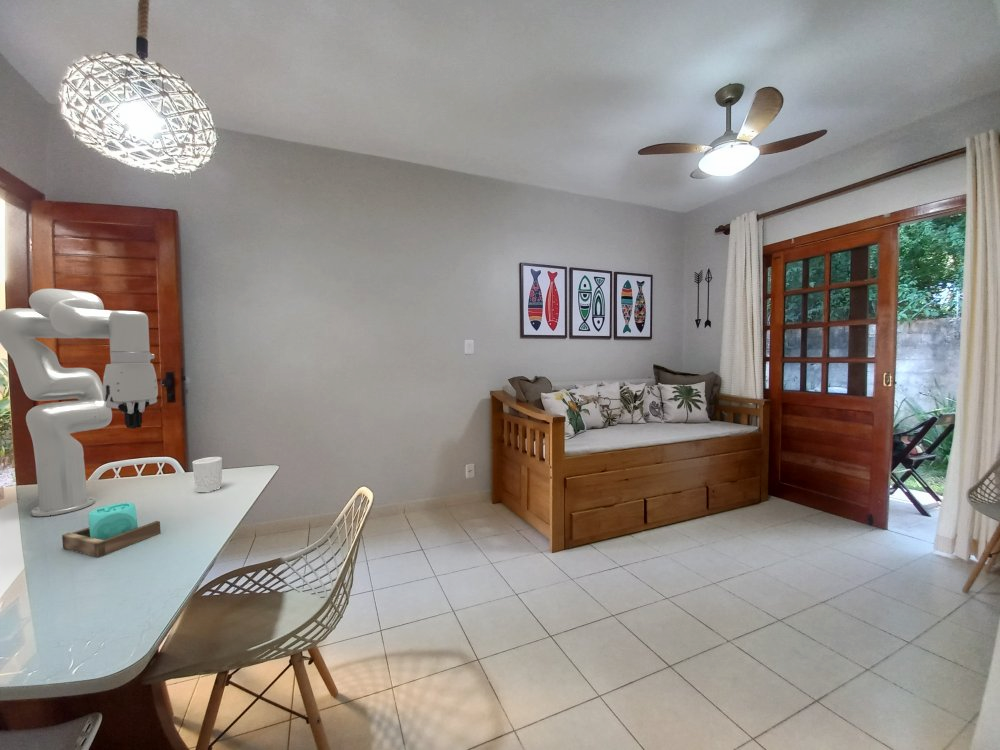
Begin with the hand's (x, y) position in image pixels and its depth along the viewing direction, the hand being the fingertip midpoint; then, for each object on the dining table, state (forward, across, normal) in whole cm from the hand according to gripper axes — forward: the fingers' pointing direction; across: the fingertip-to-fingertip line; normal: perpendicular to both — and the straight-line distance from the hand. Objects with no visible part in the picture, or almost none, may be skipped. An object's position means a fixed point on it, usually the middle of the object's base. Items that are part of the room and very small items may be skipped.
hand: (133, 427), depth 104 cm
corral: (+26, +8, +6) cm, 28 cm away
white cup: (+26, -24, -7) cm, 36 cm away
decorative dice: (+26, +9, +7) cm, 28 cm away
